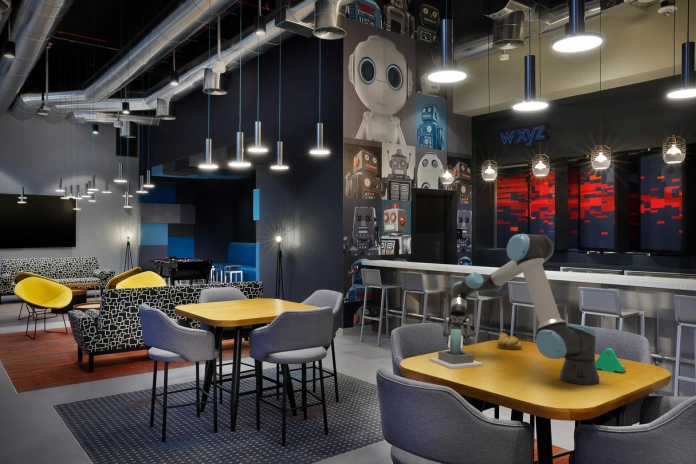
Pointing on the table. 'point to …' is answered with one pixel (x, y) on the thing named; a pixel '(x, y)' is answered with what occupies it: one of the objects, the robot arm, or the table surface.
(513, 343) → the bread roll
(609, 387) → the table surface
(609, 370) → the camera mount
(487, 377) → the table surface
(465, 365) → the dock
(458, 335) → the peg
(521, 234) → the robot arm
